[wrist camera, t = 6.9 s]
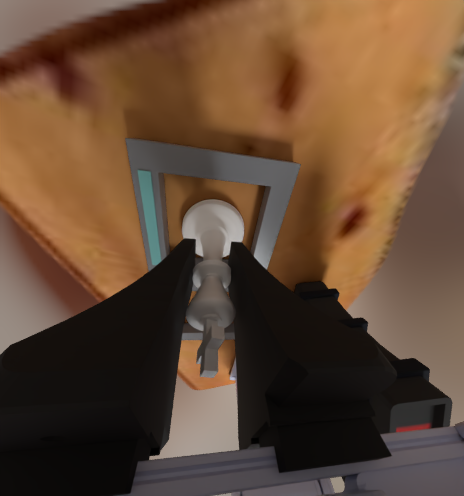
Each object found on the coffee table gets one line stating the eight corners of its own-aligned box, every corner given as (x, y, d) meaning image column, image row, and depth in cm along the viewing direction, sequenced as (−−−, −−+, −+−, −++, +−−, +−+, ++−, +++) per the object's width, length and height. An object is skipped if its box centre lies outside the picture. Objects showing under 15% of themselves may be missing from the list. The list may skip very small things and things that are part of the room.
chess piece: (254, 212, 13) (323, 342, 5) (230, 260, 15) (247, 405, 7) (191, 188, 12) (128, 307, 3) (175, 245, 14) (115, 400, 6)
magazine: (282, 360, 24) (375, 572, 9) (278, 272, 22) (386, 366, 8) (308, 356, 24) (438, 561, 10) (306, 269, 23) (464, 356, 8)
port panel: (243, 330, 22) (244, 340, 21) (163, 330, 21) (160, 341, 20) (293, 161, 11) (301, 164, 10) (134, 138, 10) (124, 138, 9)
